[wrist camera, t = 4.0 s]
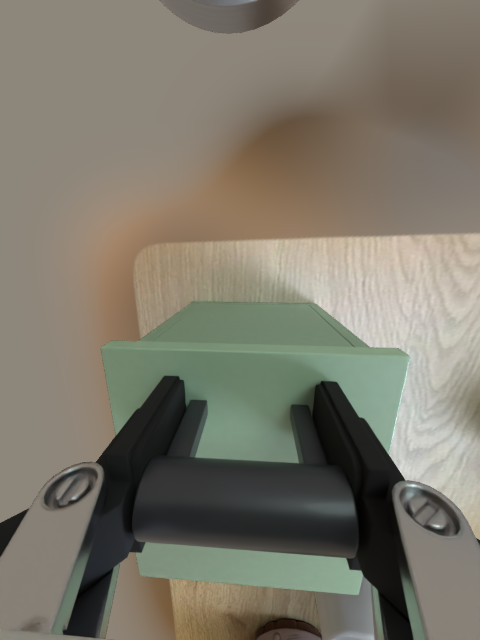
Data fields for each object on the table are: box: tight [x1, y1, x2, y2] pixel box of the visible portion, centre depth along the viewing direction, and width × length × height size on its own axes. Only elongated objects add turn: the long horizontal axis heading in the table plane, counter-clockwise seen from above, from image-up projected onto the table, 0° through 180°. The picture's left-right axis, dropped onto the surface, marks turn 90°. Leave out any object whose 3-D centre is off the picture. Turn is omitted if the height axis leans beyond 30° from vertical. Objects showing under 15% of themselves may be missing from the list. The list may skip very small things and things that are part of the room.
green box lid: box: [101, 341, 410, 595], centre depth 9 cm, size 13×12×5 cm
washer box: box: [139, 302, 369, 347], centre depth 18 cm, size 13×12×13 cm
